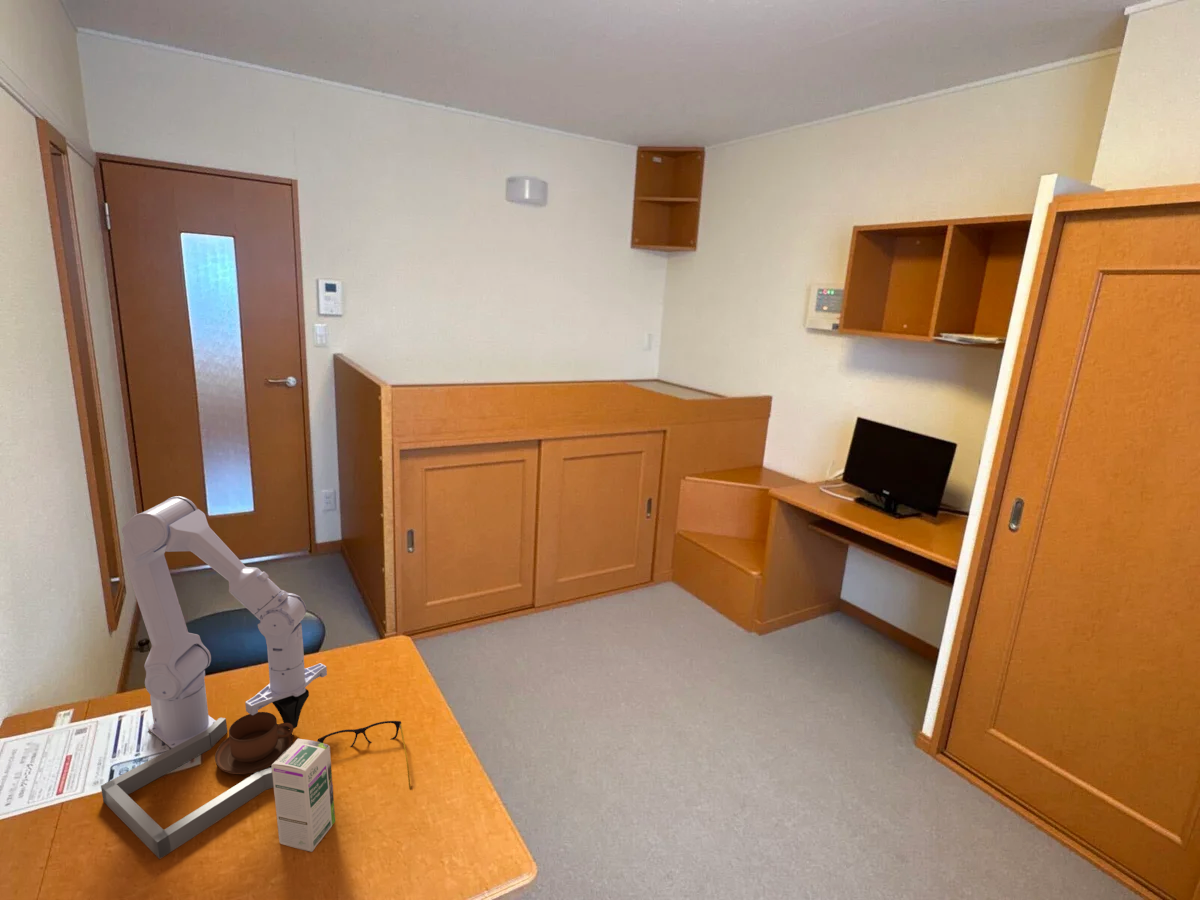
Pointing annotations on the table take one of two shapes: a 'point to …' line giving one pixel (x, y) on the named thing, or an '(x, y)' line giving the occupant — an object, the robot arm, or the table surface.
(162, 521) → the robot arm
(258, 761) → the cup and saucer
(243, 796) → the bent grey bar frame
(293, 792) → the syrup box
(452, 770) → the table surface
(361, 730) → the eyeglasses
